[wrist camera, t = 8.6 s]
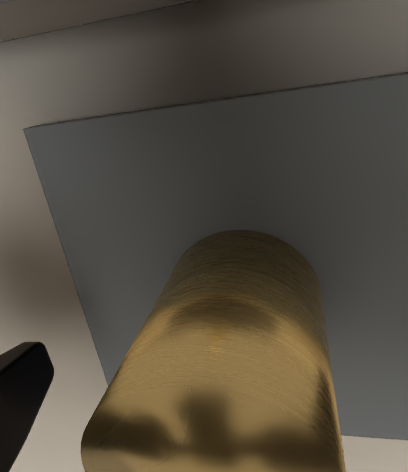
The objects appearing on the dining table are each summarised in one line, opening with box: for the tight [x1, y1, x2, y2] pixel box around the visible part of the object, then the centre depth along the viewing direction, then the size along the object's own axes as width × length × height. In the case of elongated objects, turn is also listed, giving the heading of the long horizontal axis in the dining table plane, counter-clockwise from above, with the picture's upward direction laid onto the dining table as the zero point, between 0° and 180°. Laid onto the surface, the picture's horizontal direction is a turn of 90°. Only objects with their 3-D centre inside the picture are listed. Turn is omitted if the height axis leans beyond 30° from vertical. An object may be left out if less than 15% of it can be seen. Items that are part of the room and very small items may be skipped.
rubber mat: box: [23, 72, 408, 440], centre depth 10 cm, size 10×10×1 cm
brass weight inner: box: [81, 230, 346, 472], centre depth 8 cm, size 4×4×5 cm
